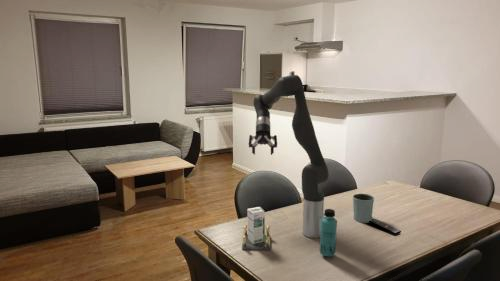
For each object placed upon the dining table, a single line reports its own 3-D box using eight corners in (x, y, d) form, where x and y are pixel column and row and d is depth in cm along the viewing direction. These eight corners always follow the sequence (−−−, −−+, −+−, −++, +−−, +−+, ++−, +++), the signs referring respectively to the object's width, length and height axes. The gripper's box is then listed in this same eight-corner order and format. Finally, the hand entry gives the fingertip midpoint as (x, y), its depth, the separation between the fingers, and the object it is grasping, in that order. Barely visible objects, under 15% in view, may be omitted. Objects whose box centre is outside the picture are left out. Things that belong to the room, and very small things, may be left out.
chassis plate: (270, 237, 168) (270, 225, 167) (270, 250, 157) (270, 237, 155) (243, 236, 169) (243, 225, 168) (242, 249, 157) (242, 237, 156)
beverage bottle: (317, 252, 155) (319, 207, 150) (333, 251, 155) (335, 206, 151) (321, 260, 148) (323, 213, 144) (337, 259, 149) (340, 213, 145)
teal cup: (373, 224, 181) (375, 201, 179) (352, 222, 183) (353, 199, 181) (371, 216, 191) (372, 194, 189) (351, 214, 193) (352, 192, 191)
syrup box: (253, 244, 159) (252, 212, 156) (247, 238, 164) (247, 208, 161) (264, 241, 161) (265, 210, 158) (258, 236, 166) (259, 205, 163)
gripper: (249, 122, 189) (248, 149, 180) (277, 122, 188) (277, 150, 179) (249, 131, 195) (248, 157, 186) (276, 131, 194) (277, 157, 185)
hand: (262, 153), depth 183 cm, fingers open, 8 cm apart
